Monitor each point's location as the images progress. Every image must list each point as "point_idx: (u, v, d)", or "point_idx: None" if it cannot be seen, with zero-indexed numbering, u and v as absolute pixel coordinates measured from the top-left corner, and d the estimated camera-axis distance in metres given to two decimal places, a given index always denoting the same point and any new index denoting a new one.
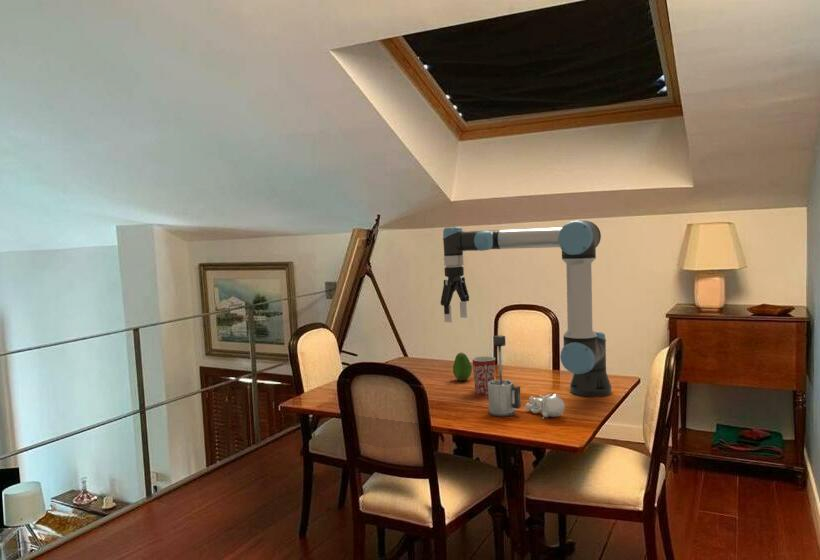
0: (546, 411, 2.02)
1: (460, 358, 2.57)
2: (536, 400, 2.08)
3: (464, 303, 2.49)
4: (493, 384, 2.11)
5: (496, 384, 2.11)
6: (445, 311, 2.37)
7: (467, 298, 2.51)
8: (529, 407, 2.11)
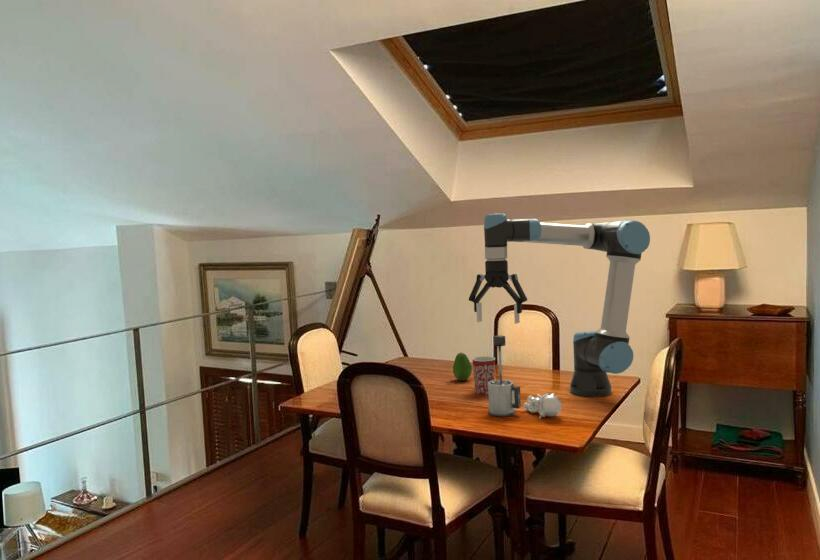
0: (543, 411, 2.02)
1: (460, 358, 2.57)
2: (534, 400, 2.09)
3: None
4: (493, 384, 2.11)
5: (496, 384, 2.11)
6: None
7: (521, 301, 2.03)
8: (527, 406, 2.12)
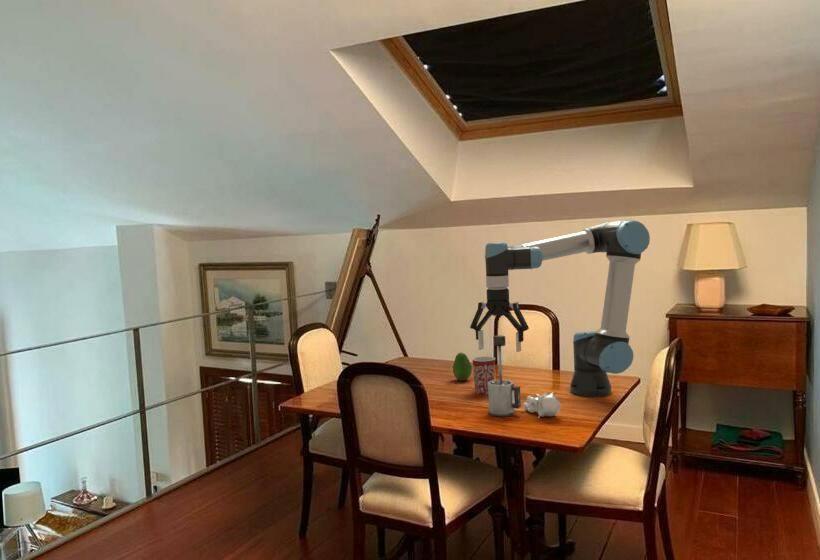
0: (541, 410, 2.02)
1: (460, 358, 2.57)
2: (533, 399, 2.09)
3: None
4: (493, 384, 2.11)
5: (496, 384, 2.11)
6: None
7: (523, 329, 2.04)
8: (526, 406, 2.12)
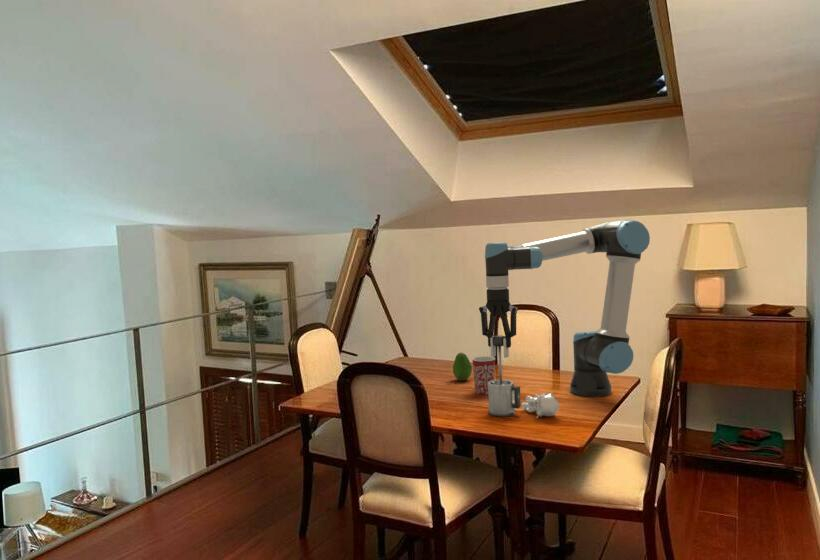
0: (540, 410, 2.03)
1: (460, 358, 2.57)
2: (531, 399, 2.10)
3: None
4: (493, 384, 2.11)
5: (496, 384, 2.11)
6: None
7: (510, 334, 2.06)
8: (525, 406, 2.12)
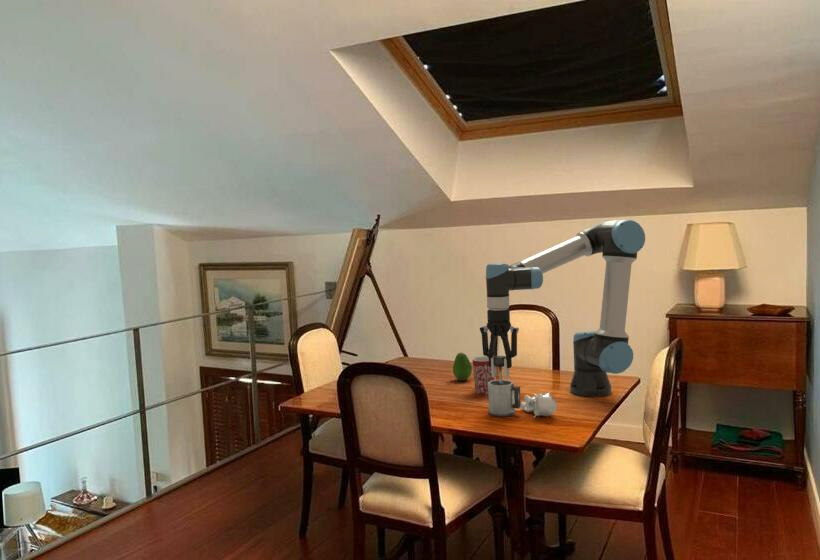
0: (537, 410, 2.03)
1: (460, 358, 2.57)
2: (529, 399, 2.10)
3: None
4: None
5: None
6: None
7: (511, 355, 2.07)
8: (523, 406, 2.13)
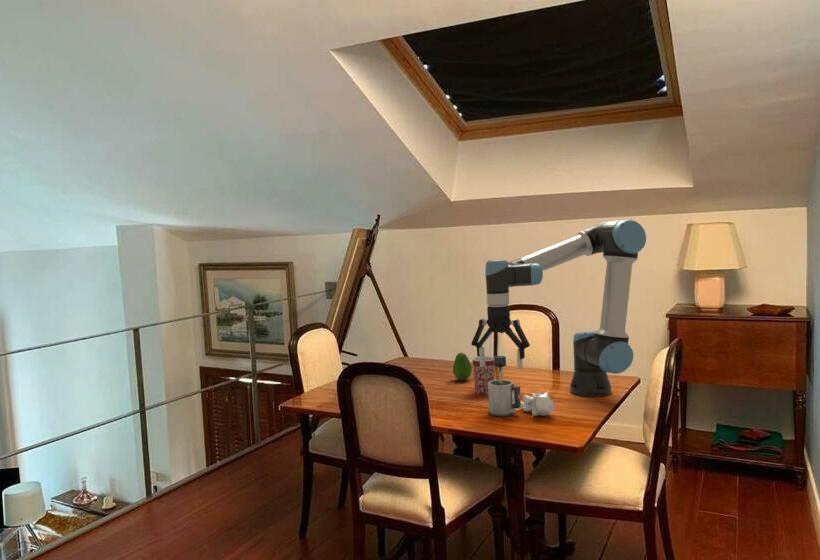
0: (535, 410, 2.04)
1: (460, 358, 2.57)
2: (528, 399, 2.11)
3: None
4: None
5: None
6: None
7: (524, 346, 2.04)
8: (522, 405, 2.13)
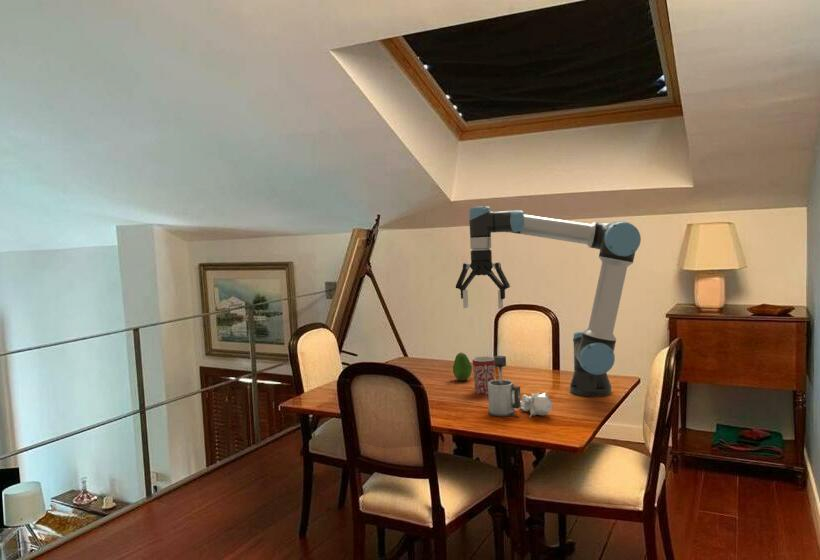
0: (533, 409, 2.04)
1: (460, 358, 2.57)
2: (526, 398, 2.11)
3: None
4: None
5: None
6: None
7: (504, 287, 2.18)
8: (521, 405, 2.14)
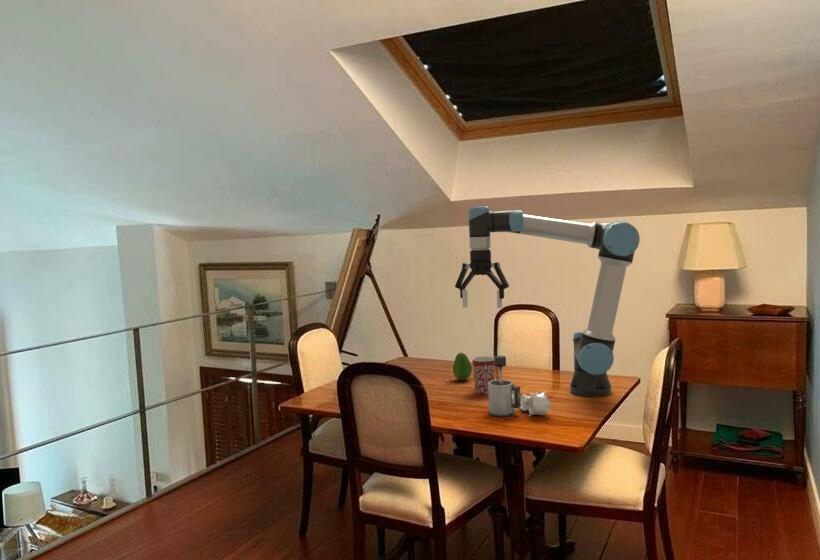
0: (531, 409, 2.04)
1: (460, 358, 2.57)
2: (525, 398, 2.11)
3: None
4: None
5: None
6: None
7: (503, 287, 2.19)
8: None
